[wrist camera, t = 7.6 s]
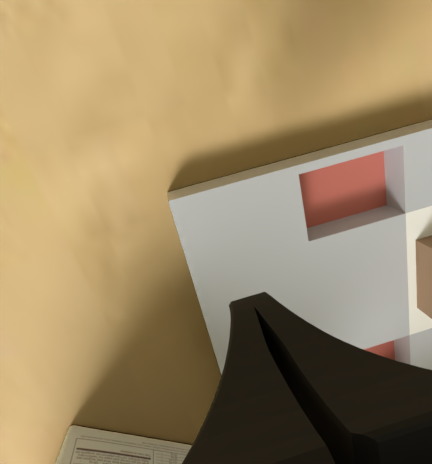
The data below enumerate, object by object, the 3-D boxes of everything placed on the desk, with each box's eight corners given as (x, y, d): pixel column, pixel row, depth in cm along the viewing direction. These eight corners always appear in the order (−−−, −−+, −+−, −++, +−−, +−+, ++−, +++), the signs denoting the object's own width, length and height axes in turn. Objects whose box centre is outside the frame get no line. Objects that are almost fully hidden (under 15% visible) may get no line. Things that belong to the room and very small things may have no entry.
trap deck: (488, 103, 21) (584, 102, 16) (475, 338, 27) (540, 386, 22) (167, 192, 19) (169, 218, 15) (235, 415, 26) (251, 482, 21)
